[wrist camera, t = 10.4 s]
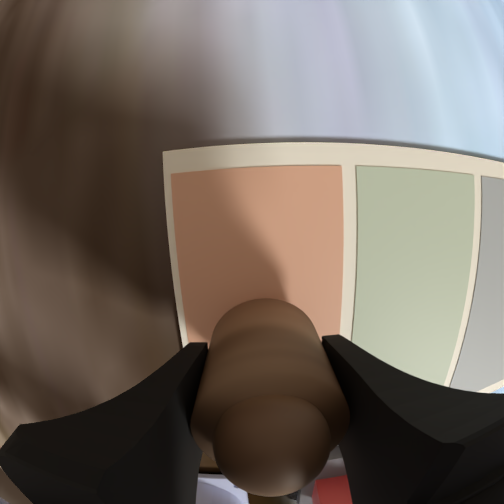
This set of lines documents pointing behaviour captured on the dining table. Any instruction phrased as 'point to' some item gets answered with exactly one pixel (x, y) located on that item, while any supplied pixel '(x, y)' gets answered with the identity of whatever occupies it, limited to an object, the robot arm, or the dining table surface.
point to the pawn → (268, 399)
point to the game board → (347, 248)
